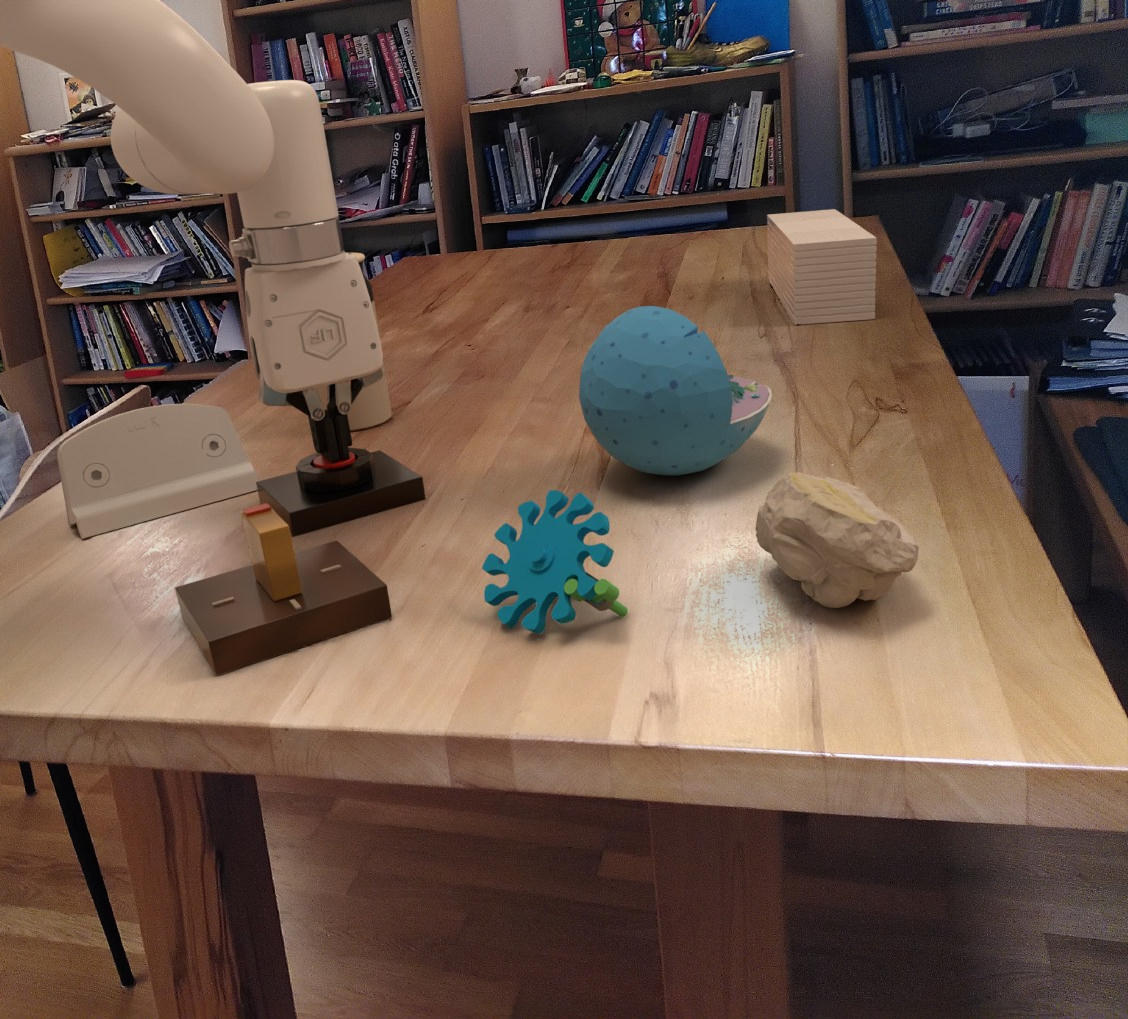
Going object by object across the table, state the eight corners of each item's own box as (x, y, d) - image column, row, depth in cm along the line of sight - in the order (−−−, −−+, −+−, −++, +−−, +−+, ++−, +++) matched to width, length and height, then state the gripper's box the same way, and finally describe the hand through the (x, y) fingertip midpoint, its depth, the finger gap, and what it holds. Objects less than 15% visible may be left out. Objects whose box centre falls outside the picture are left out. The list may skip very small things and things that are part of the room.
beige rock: (819, 542, 77) (720, 596, 72) (806, 436, 74) (701, 485, 69) (961, 582, 67) (858, 648, 62) (952, 462, 64) (843, 521, 59)
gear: (452, 586, 71) (533, 464, 72) (503, 615, 75) (580, 500, 76) (551, 662, 63) (641, 525, 64) (602, 690, 68) (686, 561, 68)
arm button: (324, 487, 90) (321, 468, 89) (311, 476, 93) (307, 458, 92) (363, 476, 92) (360, 458, 91) (349, 466, 94) (346, 448, 94)
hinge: (78, 539, 90) (41, 427, 89) (73, 541, 94) (38, 434, 93) (265, 487, 98) (233, 384, 97) (253, 491, 102) (222, 392, 101)
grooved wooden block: (874, 319, 140) (876, 237, 136) (794, 325, 141) (793, 243, 137) (834, 277, 169) (835, 208, 165) (768, 282, 170) (767, 214, 166)
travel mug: (318, 437, 112) (286, 268, 105) (322, 416, 119) (293, 257, 113) (392, 427, 113) (366, 259, 106) (392, 407, 120) (367, 249, 114)
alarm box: (293, 537, 86) (284, 492, 85) (260, 504, 94) (251, 462, 93) (426, 499, 92) (419, 457, 90) (383, 471, 100) (377, 431, 98)
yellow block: (303, 593, 70) (288, 521, 68) (273, 602, 69) (258, 529, 67) (282, 569, 74) (268, 501, 72) (254, 577, 73) (239, 509, 71)
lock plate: (216, 676, 66) (207, 639, 65) (182, 618, 74) (173, 585, 73) (392, 617, 71) (386, 582, 70) (342, 569, 79) (336, 537, 78)
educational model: (812, 450, 95) (812, 284, 89) (682, 519, 83) (672, 332, 77) (677, 424, 105) (669, 274, 99) (544, 482, 93) (527, 315, 88)
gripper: (215, 264, 78) (264, 491, 85) (399, 234, 85) (430, 447, 92) (192, 256, 84) (240, 468, 91) (365, 228, 91) (397, 428, 98)
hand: (335, 457), depth 92 cm, fingers closed
